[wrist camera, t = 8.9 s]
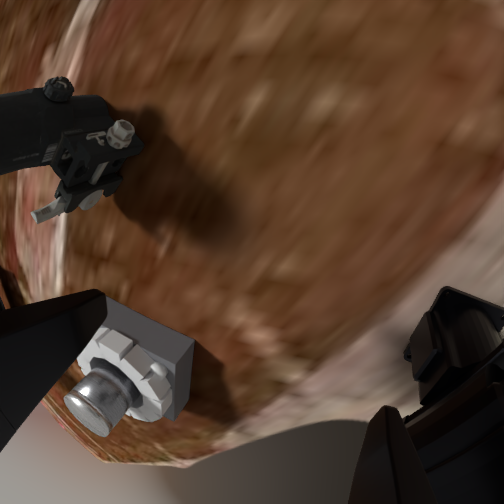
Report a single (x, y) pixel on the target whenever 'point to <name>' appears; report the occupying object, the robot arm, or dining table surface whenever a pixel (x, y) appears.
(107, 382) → the door knob
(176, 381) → the segmented white collar
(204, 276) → the dining table surface
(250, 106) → the dining table surface
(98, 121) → the scope
